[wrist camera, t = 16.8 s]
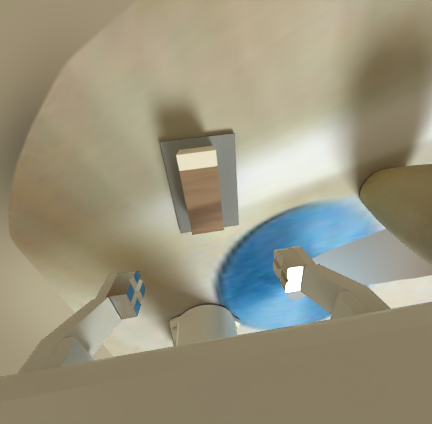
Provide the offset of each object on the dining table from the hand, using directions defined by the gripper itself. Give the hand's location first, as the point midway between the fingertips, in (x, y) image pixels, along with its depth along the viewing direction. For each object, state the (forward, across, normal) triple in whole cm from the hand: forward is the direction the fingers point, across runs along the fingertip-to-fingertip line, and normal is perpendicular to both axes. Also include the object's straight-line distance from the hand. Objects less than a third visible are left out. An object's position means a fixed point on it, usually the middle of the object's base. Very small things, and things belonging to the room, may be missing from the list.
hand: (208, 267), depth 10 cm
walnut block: (+17, 0, -7) cm, 19 cm away
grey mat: (+20, 0, -2) cm, 21 cm away
